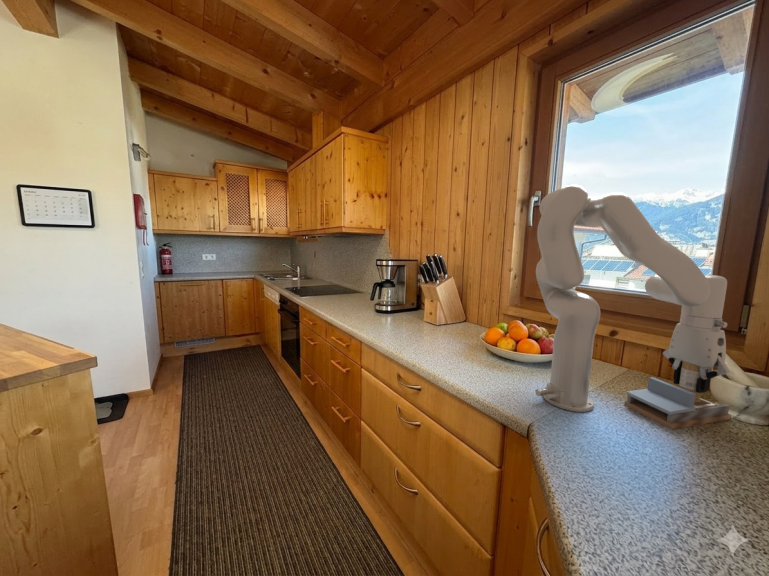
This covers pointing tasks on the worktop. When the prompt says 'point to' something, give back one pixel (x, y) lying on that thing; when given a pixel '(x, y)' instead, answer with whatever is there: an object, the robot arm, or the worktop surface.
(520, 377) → the worktop surface
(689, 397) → the lid
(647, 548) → the worktop surface
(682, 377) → the sprinkles bottle
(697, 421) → the shallow wooden box
